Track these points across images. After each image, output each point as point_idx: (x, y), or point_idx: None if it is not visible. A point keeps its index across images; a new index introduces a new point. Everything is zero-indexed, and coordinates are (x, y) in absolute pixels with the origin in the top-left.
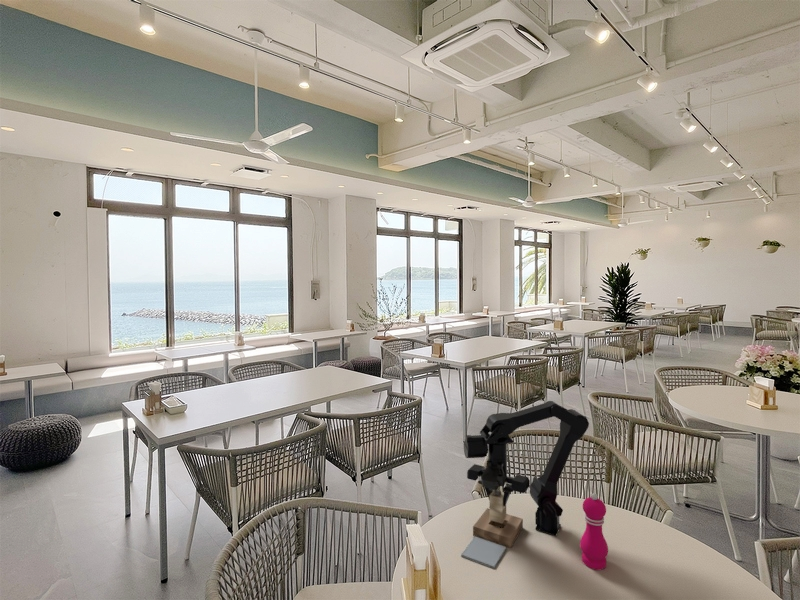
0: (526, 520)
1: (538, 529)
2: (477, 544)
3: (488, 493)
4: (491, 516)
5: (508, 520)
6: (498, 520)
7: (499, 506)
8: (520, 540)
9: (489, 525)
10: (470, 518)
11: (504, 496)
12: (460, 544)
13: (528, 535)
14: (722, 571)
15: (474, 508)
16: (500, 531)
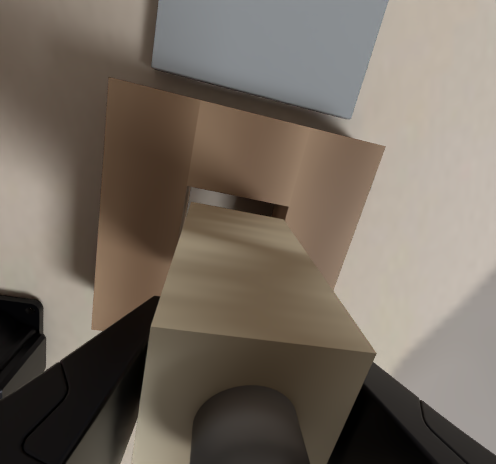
0: None
1: (21, 301)
2: (329, 32)
3: (390, 394)
4: (277, 226)
5: None
6: (219, 211)
7: (204, 261)
8: (94, 184)
9: (278, 192)
10: (376, 285)
11: (94, 384)
12: (426, 24)
13: (65, 243)
14: None
15: None
16: (196, 145)
